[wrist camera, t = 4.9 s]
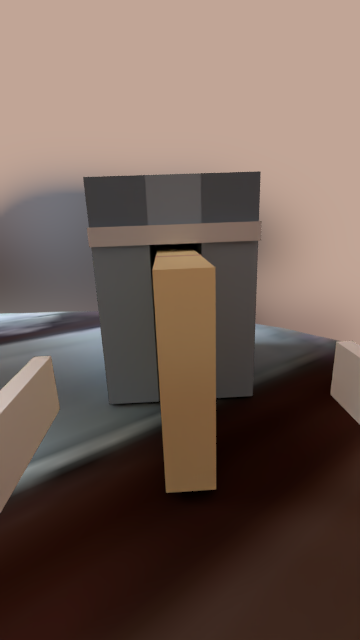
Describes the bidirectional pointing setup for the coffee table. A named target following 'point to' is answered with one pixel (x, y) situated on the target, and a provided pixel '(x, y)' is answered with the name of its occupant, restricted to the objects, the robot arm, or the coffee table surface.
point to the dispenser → (138, 259)
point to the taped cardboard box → (186, 366)
